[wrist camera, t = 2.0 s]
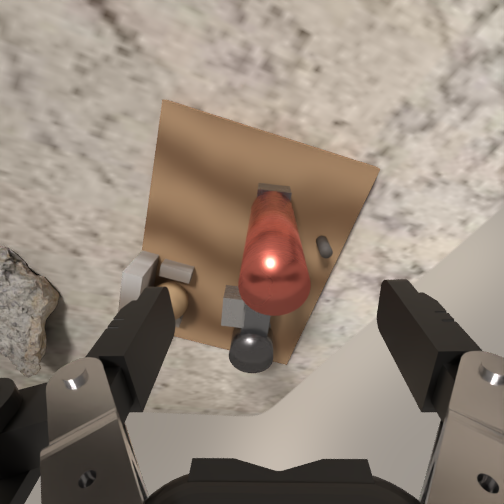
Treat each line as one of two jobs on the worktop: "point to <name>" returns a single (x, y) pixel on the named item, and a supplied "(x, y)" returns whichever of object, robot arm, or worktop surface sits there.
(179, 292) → the tan wooden ball
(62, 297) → the worktop surface
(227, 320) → the lever
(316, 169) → the base
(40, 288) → the rock
